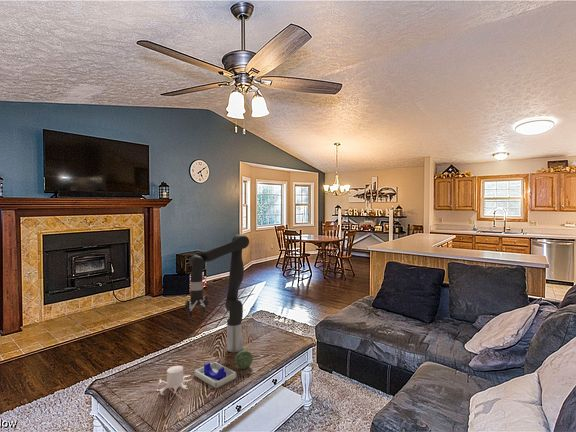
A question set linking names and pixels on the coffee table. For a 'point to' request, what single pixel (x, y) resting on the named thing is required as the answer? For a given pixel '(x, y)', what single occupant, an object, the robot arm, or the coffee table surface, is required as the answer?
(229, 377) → the parts tray
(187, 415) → the coffee table surface
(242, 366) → the decorative artifact
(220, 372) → the blue curved bracket
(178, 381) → the tree stump
